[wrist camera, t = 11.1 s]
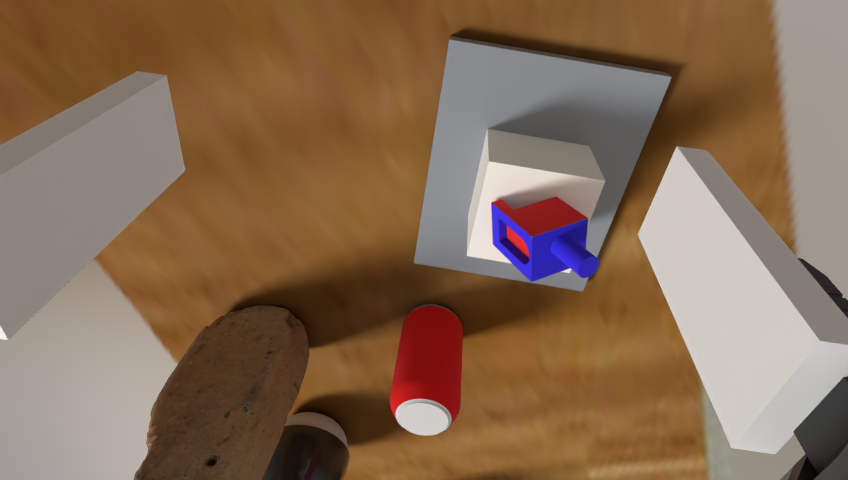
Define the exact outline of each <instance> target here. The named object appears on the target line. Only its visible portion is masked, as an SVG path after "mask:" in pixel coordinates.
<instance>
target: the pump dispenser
mask: <svg viewBox="0 0 848 480" xmlns="http://www.w3.org/2000/svg"><path fill="white" fill-rule="evenodd" d="M349 459H350V455H349V451H348V444H347V439H346V436H345V433H344V431H343V430H342V428H341V427H340V426H339V424H338V423H337V422H335V421H334V420H333V419H331V418H330V417H328V416H326V415H323V414H320V413H315V412H302V413H298V414H295V415H292V416H290V417H289V418H287V421H286V424H285V427H284V429H283V432H282V435H281V438H280V440H279V442H278V444H277V447H276V449H275V451H274V454H273V456H272V458H271V460H270V463H269V465H268V467H267V469H266V471H265V473H264V475H263V477H262V479H261V480H343V479H344V476H345V474H346V471H347V468H348V464H349Z"/></svg>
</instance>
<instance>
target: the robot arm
mask: <svg viewBox="0 0 848 480" xmlns="http://www.w3.org/2000/svg"><path fill="white" fill-rule="evenodd" d="M184 171H185V167H184V162H183V157H182V152H181V147H180V141H179V136H178V131H177V126H176V121H175V116H174V111H173V106H172V101H171V96H170V90H169V85H168V80H167V75H160V74H153V73H146V72H138V71H137V72H135V73H133V74H131V75H130V76H128V77H126V78H124V79H122V80H120V81H119V82H117V83H115V84H113V85H111V86H109V87H107V88H106V89H104V90H102V91H100V92H98V93H96V94H94V95H93V96H91V97H89V98H87V99H85V100H83V101H82V102H80V103H78V104H76V105H74V106H72V107H70V108H69V109H67V110H65V111H63V112H61V113H59V114H57V115H56V116H54V117H52V118H50V119H48V120H46V121H45V122H43V123H41V124H39V125H37V126H35V127H33V128H32V129H30V130H28V131H26V132H24V133H22V134H20V135H19V136H17V137H15V138H13V139H11V140H9V141H7V142H6V143H4V144H2V145H0V339H4V340H9V339H10V338H11V337H12V336H13V335H14V334H15V333H16V332H17V331H18V330H19V329H20V328H21V327H22V326H24V325H25V324H26V323H27V322H28V321H29V320H30V319H31V318H32V317H33V316H34V315H35V314H36V313H37V312H38V311H39V310H40V309H41V308H42V307H43V306H44V305H45V304H46V303H47V302H49V300H51V299H52V298H53V296H55V295H56V294H57V293H58V292H59V291H60V290H61V289H62V288H63V287H64V286H65V285H66V284H67V283H68V282H69V281H70V280H71V279H72V278H74V277H75V275H77V274H78V273H79V272H80V271H81V270H82V269H83V268H84V267H85V266H86V265H87V264H88V263H89V262H90V261H91V260H92V259H93V258H94V257H95V256H97V255H98V254H99V253H100V252H101V251H102V250H103V249H104V248H105V247H106V246H107V245H108V244H109V243H110V242H111V241H112V240H113V239H114V238H115V237H116V236H117V235H118V234H119V233H120V232H122V231H123V230H124V229H125V228H126V227H127V226H128V225H129V224H130V223H131V222H132V221H133V220H134V219H135V218H136V217H137V216H138V215H139V214H140V213H141V212H142V211H143V210H144V209H146V208H147V207H148V206H149V205H150V204H151V203H152V202H153V201H154V200H155V199H156V198H157V197H158V196H159V195H160V194H161V193H162V192H163V191H164V190H165V189H166V188H167V187H168V186H170V185H171V184H172V183H173V182H174V181H175V180H176V179H177V178H178V177H179V176H180V175H181V174H182V173H183V172H184ZM638 236H639V238H640V241H641V243H642V245H643V247H644V250H645V252H646V254H647V257H648V259H649V261H650V263H651V266H652V268H653V270H654V273H655V275H656V277H657V279H658V282H659V284H660V286H661V288H662V291H663V293H664V295H665V298H666V300H667V302H668V304H669V307H670V309H671V311H672V313H673V316H674V318H675V320H676V323H677V325H678V327H679V329H680V332H681V334H682V336H683V338H684V341H685V343H686V345H687V348H688V350H689V352H690V354H691V357H692V359H693V361H694V364H695V366H696V368H697V370H698V373H699V375H700V377H701V379H702V382H703V384H704V386H705V389H706V391H707V393H708V395H709V398H710V400H711V402H712V404H713V407H714V409H715V411H716V414H717V416H718V418H719V420H720V423H721V425H722V427H723V430H724V432H725V434H726V436H727V439H728V441H729V443H730V445H731V448H736V449H742V450H749V451H756V452H763V453H769V454H776V453H777V452H778V451H779V449H780V448H781V447H782V446H783V445H784V444H785V443H786V442H787V441H788V440H789V439H790V437H792V435H793V434H795V435H796V437H797V439H798V441H799V443H800V444H801V446H802V448H803V450H804V451H805V453H806V454H805V455H804V456H803V457H802V458H801V459H800V460H799V461H798V462H797V463H796V464H795V465H794V466H793V467H792V468H791V469H790V470H789V471H788V472H787V473H786V474H785V475H784V476H783V477H782V478H781V479H780V480H848V300H847V299H846V298H842V294H841V292H840V291H839V290H838V289H837V288H836V287H835V285H833V283H832V282H831V281H830V280H829V279H828V277H827V276H825V275H824V274H823V273H821V272H820V271H819V270H817V269H816V268H814V267H813V266H811V265H810V264H809V263H807V262H806V261H805V260H803V259H800V258H797V257H796V256H795V255H794V254H793V252H792V251H791V250H790V249H789V248H788V246H787V245H786V244H785V243H784V242H783V240H782V239H781V238H780V237H779V236H778V235H777V233H776V232H775V231H774V230H773V229H772V227H771V226H770V225H769V224H768V223H767V221H766V220H765V219H764V218H763V217H762V215H761V214H760V213H759V212H758V211H757V209H756V208H755V207H754V206H753V205H752V203H751V202H750V201H749V200H748V199H747V198H746V196H745V195H744V194H743V193H742V192H741V190H740V189H739V188H738V187H737V186H736V184H735V183H734V182H733V181H732V180H731V178H730V177H729V176H728V175H727V174H726V172H725V171H724V170H723V169H722V168H721V167H720V165H719V164H718V163H717V162H716V161H715V159H714V158H713V157H712V156H711V155H710V153H709V152H708V151H707V150H700V149H693V148H686V147H679V146H677V147H676V149H675V151H674V153H673V156H672V158H671V160H670V163H669V165H668V167H667V169H666V172H665V174H664V176H663V179H662V181H661V183H660V185H659V188H658V190H657V192H656V195H655V197H654V199H653V201H652V204H651V206H650V208H649V211H648V213H647V215H646V217H645V220H644V222H643V224H642V227H641V229H640V231H639V233H638Z"/></svg>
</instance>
